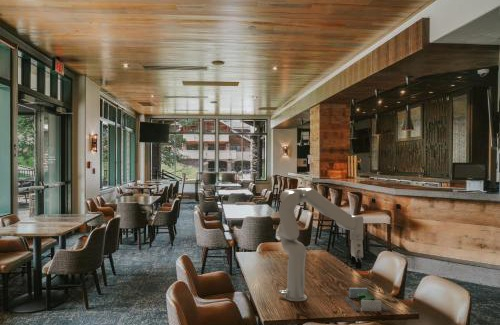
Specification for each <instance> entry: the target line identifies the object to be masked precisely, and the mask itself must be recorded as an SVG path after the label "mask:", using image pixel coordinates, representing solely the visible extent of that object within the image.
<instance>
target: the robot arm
mask: <svg viewBox="0 0 500 325" xmlns="http://www.w3.org/2000/svg"><path fill="white" fill-rule="evenodd" d="M279 199H280V205H279V208H278V215H279V216H278V217H279V221H280V224H279V225H278V228H277V231H278V236H279V239H280V242H281V245H282V246H281V247H282V249H283V251H284V252H285V253H286V255H287V256H288V260H287V272H286V273H287V275H286V276H287V277H286V278H287V279H286V283H287V284H286V288H285V289H284V290H278V295H281V296H283V298H284V299H285V300H286V301H290V302H305V301H307V299H308V295H306V294H305V267H306V266H305V264H306V256H307V249H306V246H305V245H304V244H303V243H302V242H301V241H299V240H298V238H299V236H300V229H299V226H298V222H297V219H296V216H295V211H296V210H295V209H296V207H297V206H298V204H300V203H307V204H308V205H310V206H311V207H312V208H314V209H316V211H317V212H319V213H320V214H322V215H323V216H325V217H328V218H330V219H331V220H333V221H335V224H336V226H337V227H339V228H341V229H344V230H347V231H349V240H350V254H351V256H350V265H353V266H355V269H356V270H361V269H362V262H363V260H362V259H363V258H364V246H363V241H364V217H363V216H362V215H358V214H357V215H353V214H352V215H351V214H349V213H348V212H347V211H345V210H344V209H342V208H341V207H339V206H338V205H337V204H335V203H333V202H331V201H330V200H329V199H328V198H327V197H325V196H324V195H322V194H321V193H320V192H318V191H317V190H316V189H315V188H312V187H300V188H294V189H286V190H284V191H282V192H281V193H280V195H279Z"/></svg>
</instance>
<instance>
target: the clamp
mask: <svg viewBox="0 0 500 325" xmlns="http://www.w3.org/2000/svg"><path fill="white" fill-rule="evenodd" d="M357 296H358V302H359V305H361V300H375V299H374V296H372V295H371V294H370V292H364V293H360V294H357Z"/></svg>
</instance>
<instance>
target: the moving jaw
mask: <svg viewBox="0 0 500 325" xmlns="http://www.w3.org/2000/svg"><path fill="white" fill-rule="evenodd" d="M364 292H368V288H367V287H348V298H349V299H350V298H352V299H357V298H358V296H357V294H360V293H364ZM368 293H369V292H368ZM358 299H359V298H358Z"/></svg>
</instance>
